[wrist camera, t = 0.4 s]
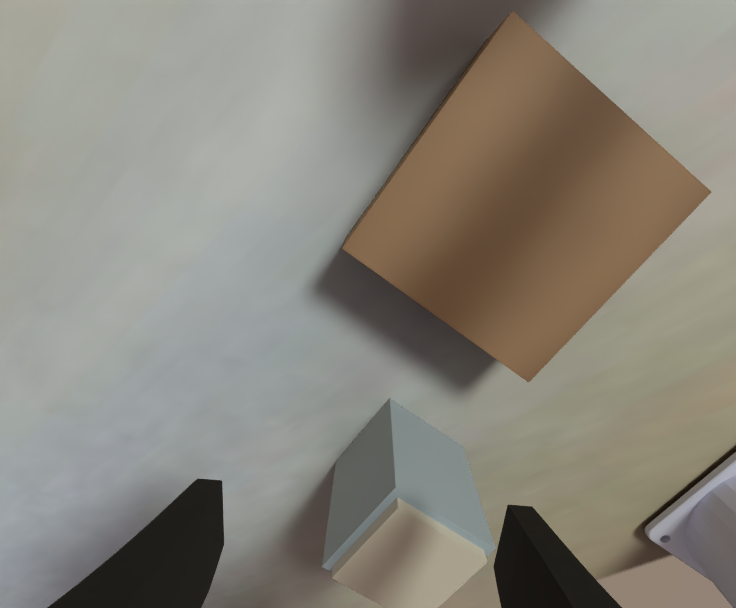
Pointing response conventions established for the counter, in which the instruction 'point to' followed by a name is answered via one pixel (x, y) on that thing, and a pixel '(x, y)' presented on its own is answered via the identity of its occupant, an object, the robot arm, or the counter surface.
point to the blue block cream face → (404, 514)
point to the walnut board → (523, 203)
